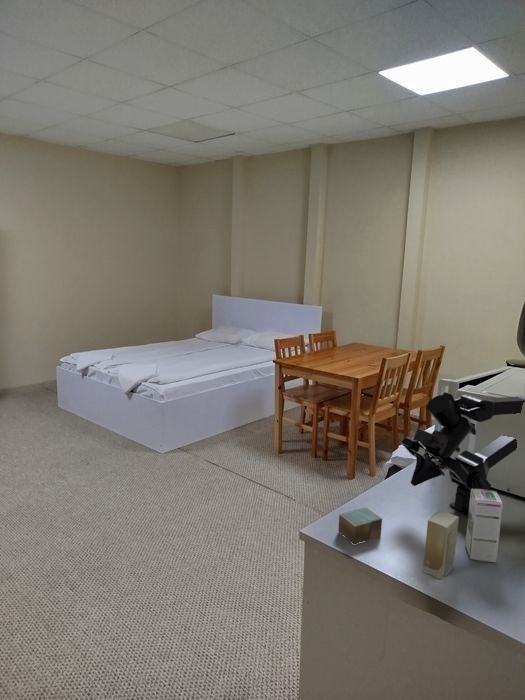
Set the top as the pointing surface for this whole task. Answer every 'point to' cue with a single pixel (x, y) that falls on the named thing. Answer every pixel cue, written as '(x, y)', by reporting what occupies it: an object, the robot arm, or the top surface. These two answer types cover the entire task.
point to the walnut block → (360, 525)
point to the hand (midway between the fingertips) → (412, 484)
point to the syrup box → (483, 525)
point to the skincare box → (440, 544)
